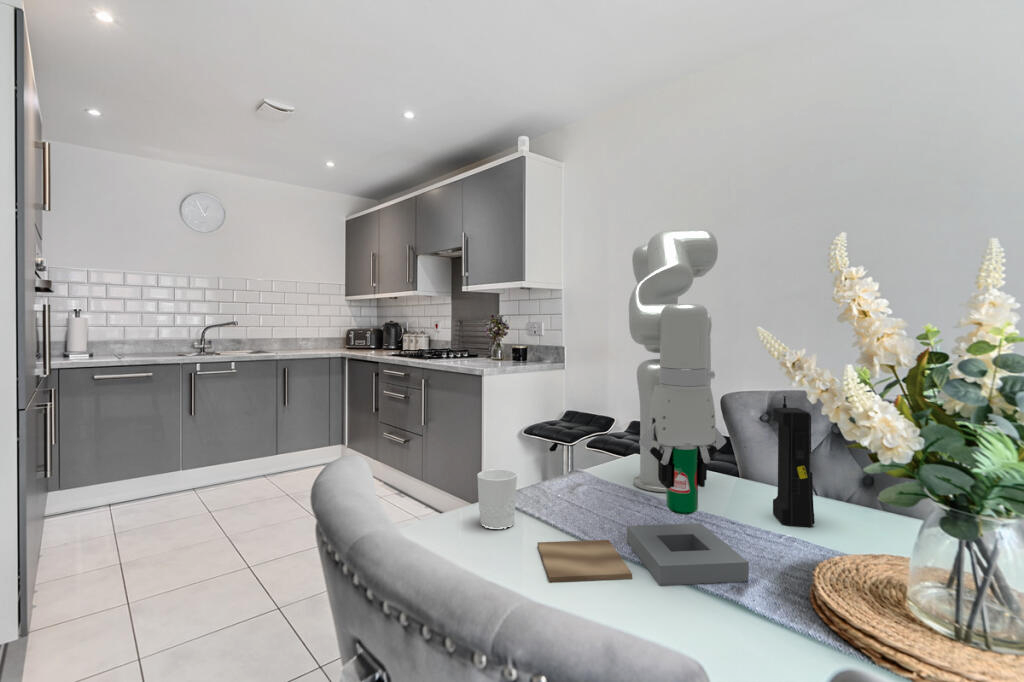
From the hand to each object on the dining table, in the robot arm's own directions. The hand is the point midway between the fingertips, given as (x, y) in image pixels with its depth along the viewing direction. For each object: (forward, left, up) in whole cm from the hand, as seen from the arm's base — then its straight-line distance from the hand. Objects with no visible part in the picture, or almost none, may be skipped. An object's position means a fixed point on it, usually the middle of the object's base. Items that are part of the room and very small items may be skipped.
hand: (682, 484), depth 86 cm
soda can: (0, 0, -5) cm, 5 cm away
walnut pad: (0, -17, -13) cm, 21 cm away
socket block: (+1, 0, -13) cm, 13 cm away
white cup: (-18, -30, -13) cm, 38 cm away
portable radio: (-14, +30, -13) cm, 35 cm away
